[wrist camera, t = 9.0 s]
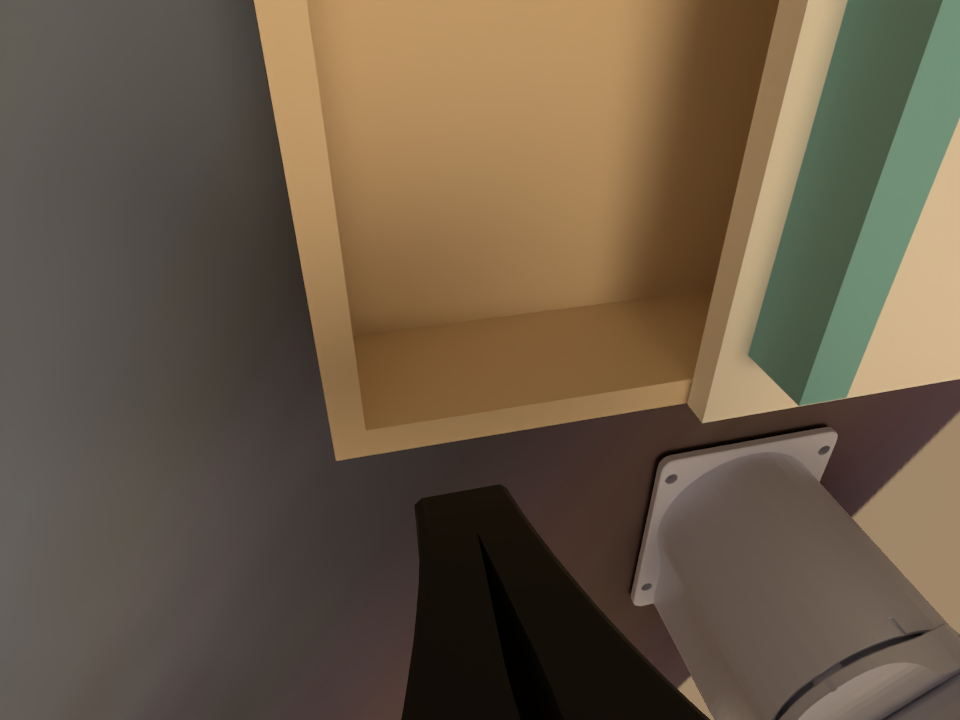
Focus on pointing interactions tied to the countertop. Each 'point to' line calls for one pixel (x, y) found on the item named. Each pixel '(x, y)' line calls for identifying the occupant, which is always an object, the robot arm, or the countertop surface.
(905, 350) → the tan board with ridge
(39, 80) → the countertop surface
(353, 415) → the mailer
